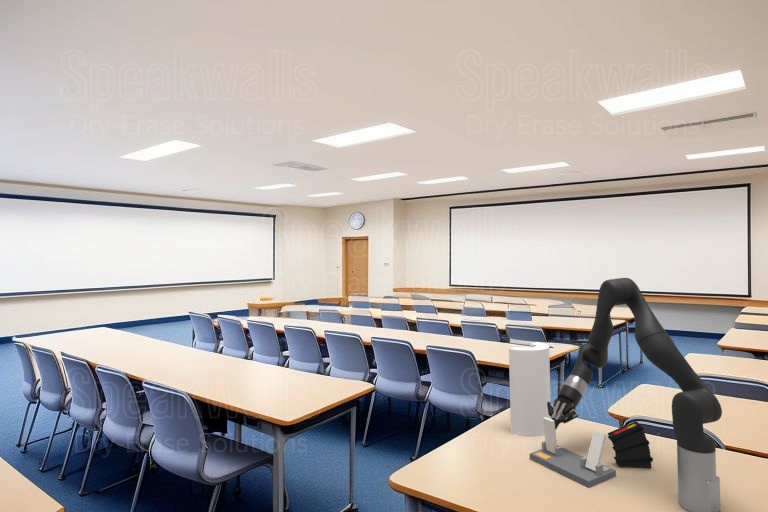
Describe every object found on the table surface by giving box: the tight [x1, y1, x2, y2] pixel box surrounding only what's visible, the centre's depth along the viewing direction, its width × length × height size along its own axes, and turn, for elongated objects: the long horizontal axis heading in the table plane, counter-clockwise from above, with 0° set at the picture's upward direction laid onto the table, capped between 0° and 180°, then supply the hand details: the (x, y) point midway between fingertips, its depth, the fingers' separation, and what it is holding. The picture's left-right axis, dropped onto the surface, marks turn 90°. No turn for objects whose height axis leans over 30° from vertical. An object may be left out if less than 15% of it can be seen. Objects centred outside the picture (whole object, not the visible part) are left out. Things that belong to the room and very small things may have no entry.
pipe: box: [508, 341, 552, 437], centre depth 189 cm, size 35×11×21 cm
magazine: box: [607, 420, 654, 469], centre depth 155 cm, size 4×13×15 cm, turn 83°
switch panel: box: [529, 440, 617, 489], centre depth 155 cm, size 24×14×5 cm, turn 30°
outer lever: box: [543, 417, 558, 454], centre depth 162 cm, size 4×1×12 cm, turn 30°
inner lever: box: [585, 430, 607, 471], centre depth 149 cm, size 4×1×12 cm, turn 30°
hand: (550, 429), depth 162 cm, fingers closed
